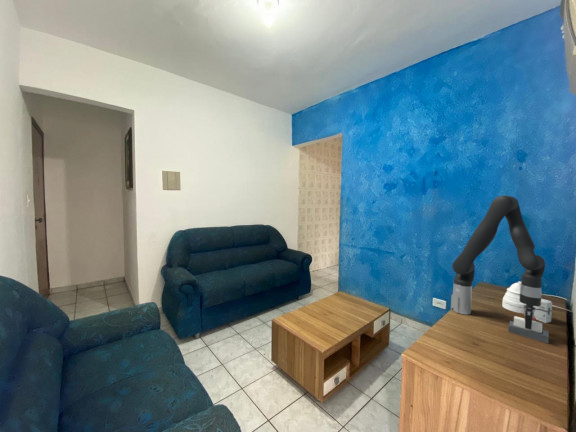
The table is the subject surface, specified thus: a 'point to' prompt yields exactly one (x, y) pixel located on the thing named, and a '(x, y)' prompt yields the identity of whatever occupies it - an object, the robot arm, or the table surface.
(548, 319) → the ink box
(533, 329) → the light grey box
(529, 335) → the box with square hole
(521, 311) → the honey pot
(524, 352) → the table surface
